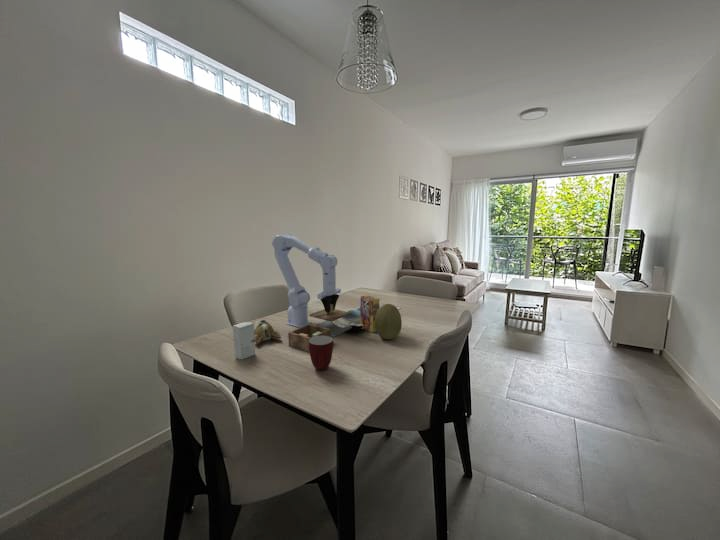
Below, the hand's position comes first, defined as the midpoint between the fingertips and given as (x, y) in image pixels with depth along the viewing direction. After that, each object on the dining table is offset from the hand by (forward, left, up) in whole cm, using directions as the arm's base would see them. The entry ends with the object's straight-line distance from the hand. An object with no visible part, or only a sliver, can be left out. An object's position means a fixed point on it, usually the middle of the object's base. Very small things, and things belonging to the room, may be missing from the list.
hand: (329, 311), depth 134 cm
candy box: (+16, +9, -9) cm, 20 cm away
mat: (0, 0, -8) cm, 8 cm away
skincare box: (-9, -39, -9) cm, 41 cm away
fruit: (+28, +4, -9) cm, 30 cm away
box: (+4, -18, -8) cm, 20 cm away
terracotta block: (+1, -21, -9) cm, 22 cm away
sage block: (+6, -16, -9) cm, 19 cm away
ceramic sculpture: (-16, -25, -9) cm, 31 cm away
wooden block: (0, 0, -2) cm, 2 cm away
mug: (+22, -32, -9) cm, 40 cm away
